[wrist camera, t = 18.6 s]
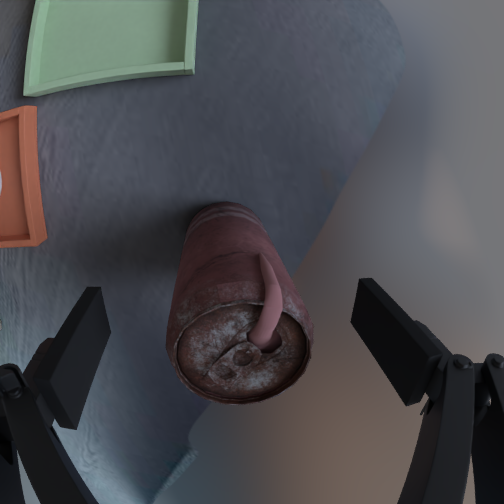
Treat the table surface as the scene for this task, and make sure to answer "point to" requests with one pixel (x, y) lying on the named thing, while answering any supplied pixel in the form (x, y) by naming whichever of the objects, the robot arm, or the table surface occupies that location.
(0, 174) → the pill bottle
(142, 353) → the table surface
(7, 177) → the terracotta tray
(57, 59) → the sage tray
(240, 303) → the can
